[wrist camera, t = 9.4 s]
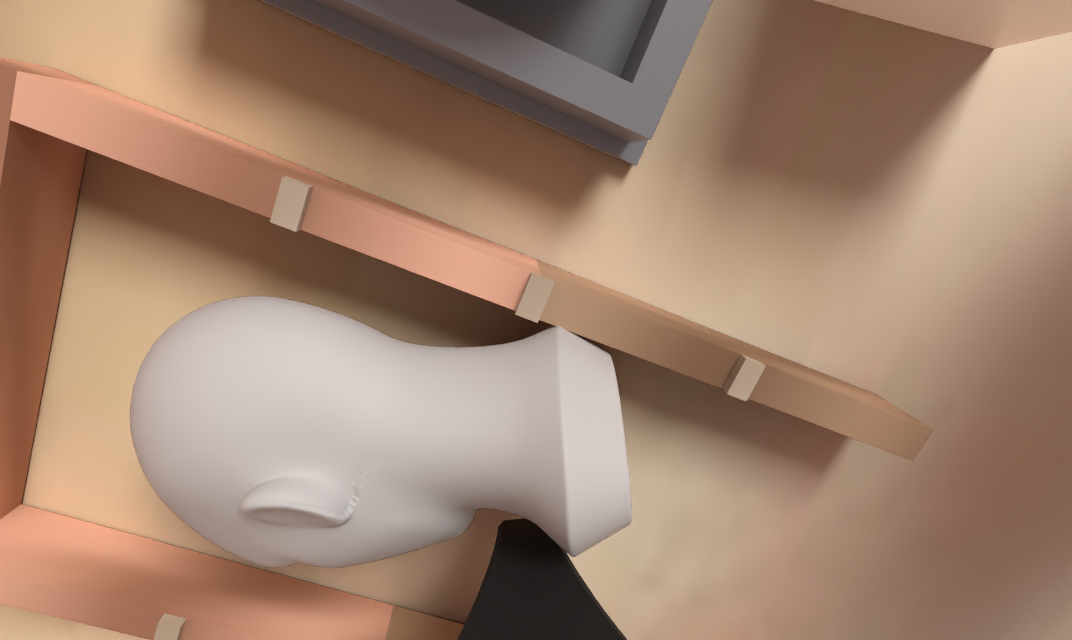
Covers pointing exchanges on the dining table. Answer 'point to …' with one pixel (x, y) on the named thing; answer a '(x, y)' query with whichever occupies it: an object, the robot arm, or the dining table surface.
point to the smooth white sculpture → (373, 434)
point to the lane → (333, 214)
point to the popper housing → (536, 55)
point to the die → (973, 17)
